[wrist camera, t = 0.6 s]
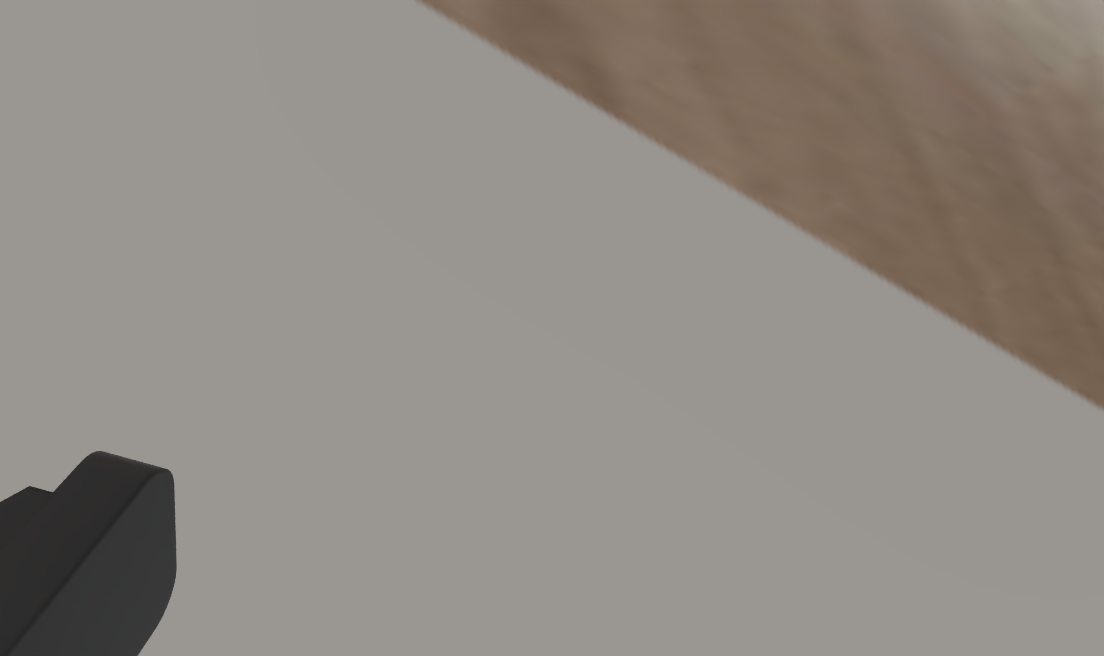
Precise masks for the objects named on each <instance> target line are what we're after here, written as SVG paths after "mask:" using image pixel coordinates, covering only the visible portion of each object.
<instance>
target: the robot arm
mask: <svg viewBox="0 0 1104 656" xmlns="http://www.w3.org/2000/svg"><path fill="white" fill-rule="evenodd" d="M175 533H176V532H175V501H174V480H173V476H172V474H171V472H170V471H169V470H168V469H164V468H161V467H157V466H154V465H150V464H146V463H143V462H139V461H136V460H132V459H128V458H124V457H121V456H117V455H114V454H110V453H106V452H102V451H97V452H94V453H92V454H90V455H89V456H87V457H86V458H85V459H84V460H83V461H82V462H81V463H80V464H79V465H78V466H77V467H76V468H75V469H74V470H73V471H72V472H71V474H70V475H69V476H68V477H67V478H66V479H65V480H64V481H63V482H62V483H61V484H60V485H59V487H58V488H57V489H56V490H55V491H54V492H49V491H46V490H42V489H38V488H35V487H31V486H29V487H27V488H25V489H23V490H22V491H20V492H18V493H16V494H14V495H12V496H11V497H9V498H7V499H5V500H3V501H1V502H0V656H137V655H138V654H139V653H140V651H141V649H142V648H143V646H144V645H145V644H146V642H147V641H148V639H149V638H150V636H151V635H152V633H153V632H154V630H155V629H156V627H157V625H158V624H159V622H160V620H161V618H162V616H163V614H164V612H165V610H166V608H167V605H168V603H169V600H170V597H171V594H172V590H173V587H174V583H175V578H176V534H175Z"/></svg>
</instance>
